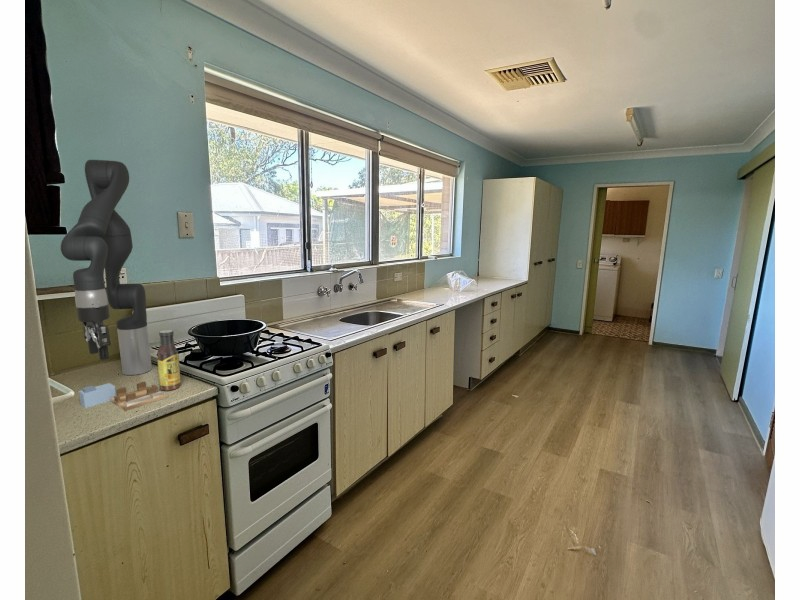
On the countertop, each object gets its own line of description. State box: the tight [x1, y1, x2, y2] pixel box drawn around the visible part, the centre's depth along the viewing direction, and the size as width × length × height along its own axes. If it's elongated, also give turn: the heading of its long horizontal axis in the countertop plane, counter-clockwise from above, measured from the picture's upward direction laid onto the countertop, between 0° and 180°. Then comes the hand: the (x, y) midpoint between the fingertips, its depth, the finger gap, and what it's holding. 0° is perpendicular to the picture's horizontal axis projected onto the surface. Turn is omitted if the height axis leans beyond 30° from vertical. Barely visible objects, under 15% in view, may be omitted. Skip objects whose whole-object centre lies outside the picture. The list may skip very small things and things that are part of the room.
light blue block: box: [78, 382, 117, 409], centre depth 121 cm, size 4×8×6 cm, turn 145°
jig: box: [109, 381, 167, 412], centre depth 123 cm, size 11×12×4 cm
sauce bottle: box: [156, 329, 181, 392], centre depth 130 cm, size 7×6×20 cm
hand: (99, 356), depth 118 cm, fingers open, 8 cm apart
